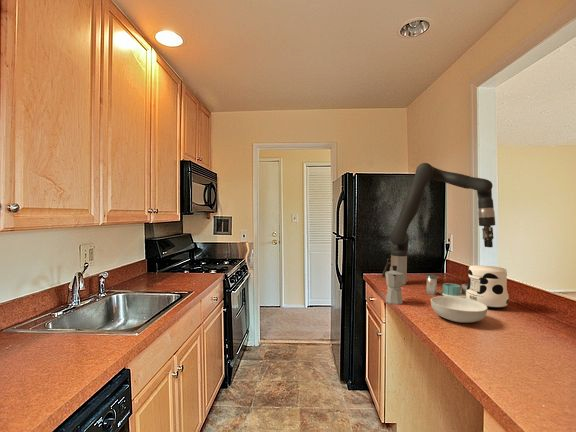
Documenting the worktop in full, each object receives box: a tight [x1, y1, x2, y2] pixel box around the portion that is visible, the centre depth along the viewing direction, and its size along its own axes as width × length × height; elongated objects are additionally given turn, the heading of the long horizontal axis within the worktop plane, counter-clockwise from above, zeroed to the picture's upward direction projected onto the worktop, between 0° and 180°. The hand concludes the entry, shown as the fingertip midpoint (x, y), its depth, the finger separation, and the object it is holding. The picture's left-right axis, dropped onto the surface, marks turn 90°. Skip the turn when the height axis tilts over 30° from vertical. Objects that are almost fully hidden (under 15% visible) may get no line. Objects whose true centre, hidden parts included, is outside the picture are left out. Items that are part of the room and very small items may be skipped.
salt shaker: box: [425, 274, 438, 296], centre depth 172 cm, size 5×5×10 cm
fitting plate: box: [438, 282, 468, 299], centre depth 168 cm, size 17×11×6 cm, turn 89°
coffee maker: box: [385, 266, 404, 306], centre depth 157 cm, size 15×9×18 cm, turn 161°
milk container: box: [466, 264, 510, 309], centre depth 152 cm, size 17×17×18 cm
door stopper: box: [381, 258, 391, 278], centre depth 216 cm, size 9×6×12 cm, turn 72°
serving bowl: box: [430, 295, 489, 324], centre depth 132 cm, size 21×21×7 cm
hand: (488, 247), depth 169 cm, fingers open, 8 cm apart
